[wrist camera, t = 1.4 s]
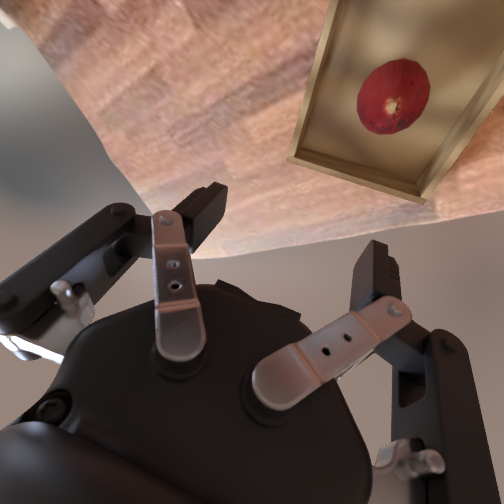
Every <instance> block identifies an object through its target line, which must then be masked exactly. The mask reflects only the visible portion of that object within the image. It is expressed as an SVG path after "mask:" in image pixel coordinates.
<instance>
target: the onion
mask: <svg viewBox="0 0 504 504" xmlns="http://www.w3.org/2000/svg"><path fill="white" fill-rule="evenodd" d="M430 87H431V86H430V82H429V79H428V76H427V73H426V71H425V70H424V69H423V68H422V66H421V65H420V64H419V63H418V62H416V61H412V60H409V59H405V58H402V59H397V60H393V61H388V62H387V63H385V64H383V65H382V66H380V67H378V68H376V69H375V70H374V71H373V72H372V73H371V74H370V75H369V76H368V77H367V79H366V80H365V81H364V82H363V84H362V86H361V89H360V91H359V93H358V95H357V113H358V116H359V119H360V121H361V123H362V124H363V125H364V126H365V128H366V129H367V130H368V131H371V132H373V133H376V134H378V135H388V134H395V133H397V132H400V131H402V130H404V129H407V128H409V127H410V126H411V125H412V124H413V123H414V122H415V121H416V120H417V119H418V118H419V117H420V116H421V114H422V112H423V110H424V109H425V107H426V105H427V103H428V100H429V94H430Z"/></svg>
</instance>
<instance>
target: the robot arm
mask: <svg viewBox="0 0 504 504" xmlns="http://www.w3.org/2000/svg"><path fill="white" fill-rule="evenodd" d="M227 192H228V187H227V186H225V185H223V184H220V183H217V182H213V183H212V184H211V185H210V186H209V187H208V188H205V187H202V188H199V189H196V190H194V191H193V192H192V193H191V194H190V195H188V196H187V197H186V198H185V199H184V200H183V201H182V202H180V203H179V204H178V205H177V206H176V207H175V208H173V209H172V210H162V211H158V212H156V213H155V214H153V216H143V215H137V214H136V212H135V208H134V207H133V206H131V205H129V204H127V203H113V204H110V205H108V206H106V207H105V208H103V209H102V210H101V211H99V212H98V213H96V214H95V215H94V216H92V217H91V218H89V219H88V220H87V221H85V222H84V223H82V224H81V225H80V226H78V227H77V228H76V229H74V230H73V231H72V232H70V233H69V234H67V235H66V236H64V237H63V238H62V239H60V240H59V241H58V242H56V243H55V244H53V245H52V246H51V247H49V248H48V249H47V250H45V251H44V252H42V253H41V254H40V255H38V256H37V257H35V258H34V259H33V260H31V261H30V262H28V263H27V264H26V265H24V266H23V267H22V268H20V269H19V270H17V271H16V272H15V273H13V274H12V275H10V276H9V277H8V278H6V279H5V280H4V281H2V282H1V283H0V342H1V343H2V344H3V345H4V346H5V347H6V348H8V349H9V350H11V351H12V352H13V353H14V354H15V355H16V356H17V357H18V358H20V359H22V360H28V361H29V360H36V359H39V358H41V357H44V358H46V359H49V360H51V361H54V362H56V363H58V364H61V366H60V368H59V370H58V373H57V375H56V377H55V379H54V381H53V382H52V384H51V385H50V387H49V388H48V390H47V392H46V393H45V394H44V395H43V396H42V398H41V399H40V400H39V401H38V402H37V403H35V404H34V405H33V406H32V407H31V408H30V409H28V410H27V411H26V412H25V413H23V415H21V416H20V417H18V418H17V419H16V420H14V421H13V422H12V423H11V424H9V425H7V426H6V427H5V428H3V429H2V430H1V431H0V504H501V501H500V496H499V491H498V487H497V482H496V477H495V473H494V469H493V464H492V460H491V455H490V450H489V446H488V442H487V437H486V432H485V428H484V423H483V419H482V414H481V409H480V405H479V400H478V396H477V391H476V387H475V382H474V378H473V373H472V369H471V364H470V360H469V355H468V351H467V349H466V347H465V346H464V344H463V343H462V342H461V341H460V340H459V339H458V338H457V337H456V336H455V335H453V334H452V333H450V332H448V331H445V330H443V329H435V330H433V331H432V332H429V331H428V330H426V329H425V328H423V327H421V326H420V325H418V324H417V323H415V322H414V321H413V320H412V314H411V311H410V309H409V308H408V307H407V305H406V304H404V303H403V302H402V297H401V286H400V277H399V266H398V264H397V262H396V261H395V259H394V258H393V257H390V256H388V245H386V244H383V243H381V242H378V241H375V240H371V241H370V243H369V244H368V245H367V247H366V248H365V250H364V251H363V253H362V254H361V256H360V257H359V259H358V261H357V262H356V264H355V267H354V270H353V279H352V289H351V300H350V310H349V313H347V314H345V315H343V316H342V317H340V318H338V319H337V320H335V321H333V322H331V323H330V324H328V325H326V326H324V327H323V328H321V329H319V330H318V331H316V332H314V333H312V332H311V330H309V328H308V327H307V326H306V325H305V324H303V323H302V322H301V321H299V320H300V316H301V314H300V313H298V312H295V311H293V310H291V309H288V308H286V307H284V306H281V305H277V304H272V303H267V302H261V301H257V300H255V299H254V298H252V297H251V296H249V295H248V294H247V293H245V292H244V291H242V290H241V289H240V288H238V287H236V286H234V285H231V284H229V283H226V282H224V281H221V280H219V279H218V280H217V282H216V284H215V285H213V284H198V285H196V284H195V279H194V273H193V268H192V262H191V256H190V254H193V253H194V252H195V251H196V250H197V248H198V247H199V246H200V245H201V244H202V242H203V241H204V240H205V239H206V238H207V236H208V235H209V234H210V233H211V231H212V230H213V229H214V228H215V227H216V225H217V224H218V223H219V222H220V221H221V219H222V218H223V215H224V212H225V207H226V200H227ZM139 257H142V258H149V259H153V277H154V296H155V299H154V300H151V301H148V302H146V303H143V304H140V305H138V306H135V307H132V308H129V309H127V310H124V311H121V312H118V313H116V314H113V315H110V316H108V317H105V318H102V319H100V320H97V321H95V322H93V323H92V324H90V322H91V321H92V319H93V318H94V316H95V308H94V305H95V304H96V303H97V302H98V301H99V300H100V299H101V298H102V297H103V295H104V294H105V293H106V292H107V291H108V290H109V289H110V288H111V287H112V286H113V285H114V284H115V283H116V282H117V281H118V280H119V279H120V277H121V276H122V275H123V274H124V273H125V272H126V271H127V270H128V269H129V268H130V267H131V266H132V265H133V264H134V263H135V261H136V260H137V259H138V258H139ZM89 324H90V325H89ZM374 353H376V354H378V355H379V356H380V357H382V358H383V359H384V360H386V361H387V362H388V363H390V364H391V365H392V366H393V367H392V420H391V443H388V444H385V445H383V446H382V447H381V448H380V449H379V452H378V455H377V460H376V463H375V465H374V466H372V464H371V459H370V455H369V452H368V449H367V447H366V445H365V442H364V440H363V438H362V435H361V433H360V431H359V429H358V427H357V425H356V423H355V420H354V419H353V416H352V414H351V412H350V410H349V407H348V405H347V403H346V401H345V399H344V397H343V395H342V392H341V390H340V388H339V386H338V384H337V382H338V381H339V380H340V379H342V378H343V377H344V376H345V375H347V374H348V373H349V372H350V371H351V370H353V369H354V368H356V367H357V366H358V365H359V364H361V363H362V362H364V361H365V360H366V359H368V358H369V357H370V356H372V355H373V354H374Z"/></svg>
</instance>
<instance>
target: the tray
mask: <svg viewBox="0 0 504 504" xmlns="http://www.w3.org/2000/svg"><path fill="white" fill-rule="evenodd" d="M402 58H405V59H409V60H412V61H416V62H418V63H419V64H420V65H421V66H422V68H423V69H424V70H425V71H426V73H427V76H428V79H429V82H430V86H431V87H430V94H429V100H428V103H427V105H426V107H425V109H424V110H423V112H422V114H421V116H420V117H419V118H418V119H417V120H416V121H415V122H414V123H413V124H412V125H411V126H410V127H409V128H407V129H404V130H402V131H400V132H397V133H395V134H388V135H378V134H376V133H373V132H371V131H368V130H367V129H366V128H365V126H364V125H363V124H362V123H361V121H360V119H359V116H358V113H357V95H358V93H359V91H360V89H361V86H362V84H363V82H364V81H365V80H366V79H367V77H368V76H369V75H370V74H371V73H372V72H373V71H374V70H375V69H376V68H378V67H380V66H382V65H383V64H385V63H387V62H388V61H393V60H397V59H402ZM503 95H504V0H330V3H329V6H328V10H327V14H326V18H325V21H324V25H323V29H322V32H321V36H320V40H319V43H318V47H317V51H316V54H315V58H314V62H313V66H312V69H311V73H310V77H309V80H308V84H307V88H306V91H305V95H304V99H303V103H302V106H301V110H300V114H299V117H298V121H297V125H296V128H295V132H294V136H293V139H292V143H291V147H290V151H289V154H288V158H287V161H288V162H291V163H294V164H297V165H300V166H303V167H306V168H309V169H313V170H316V171H319V172H322V173H325V174H328V175H331V176H334V177H337V178H341V179H344V180H347V181H350V182H353V183H356V184H359V185H362V186H366V187H369V188H372V189H375V190H378V191H381V192H384V193H387V194H390V195H394V196H397V197H400V198H403V199H406V200H409V201H412V202H415V203H418V204H422V205H423V204H424V203H425V202H426V200H427V199H428V198H429V196H430V195H431V193H432V192H433V191H434V189H435V188H436V187H437V185H438V184H439V183H440V181H441V180H442V178H443V177H444V176H445V174H446V173H447V172H448V170H449V169H450V167H451V166H452V165H453V163H454V162H455V161H456V159H457V158H458V157H459V155H460V154H461V152H462V151H463V150H464V148H465V147H466V146H467V144H468V143H469V141H470V140H471V139H472V137H473V136H474V135H475V133H476V132H477V131H478V129H479V128H480V126H481V125H482V124H483V122H484V121H485V120H486V118H487V117H488V115H489V114H490V113H491V111H492V110H493V109H494V107H495V106H496V104H497V103H498V102H499V100H500V99H501V98H502V96H503Z"/></svg>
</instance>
